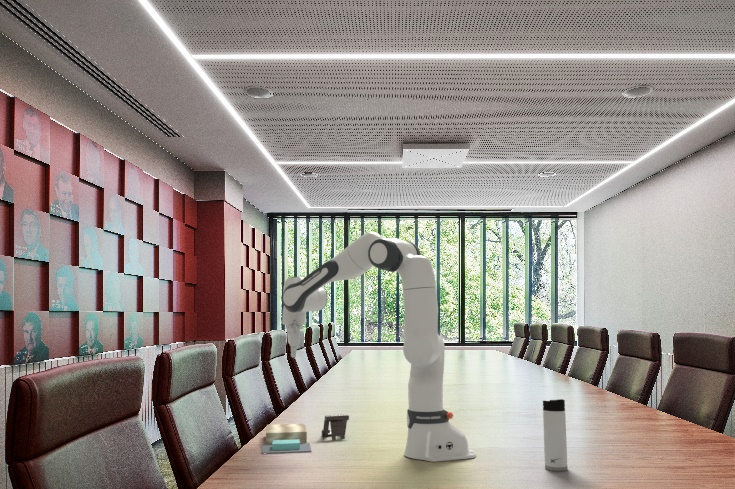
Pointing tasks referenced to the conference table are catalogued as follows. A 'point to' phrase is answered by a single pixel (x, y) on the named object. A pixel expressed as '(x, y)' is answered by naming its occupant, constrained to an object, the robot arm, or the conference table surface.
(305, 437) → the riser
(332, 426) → the portable electronic device stand
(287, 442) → the turquoise rectangular block
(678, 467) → the conference table surface
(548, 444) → the travel mug
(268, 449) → the mat
